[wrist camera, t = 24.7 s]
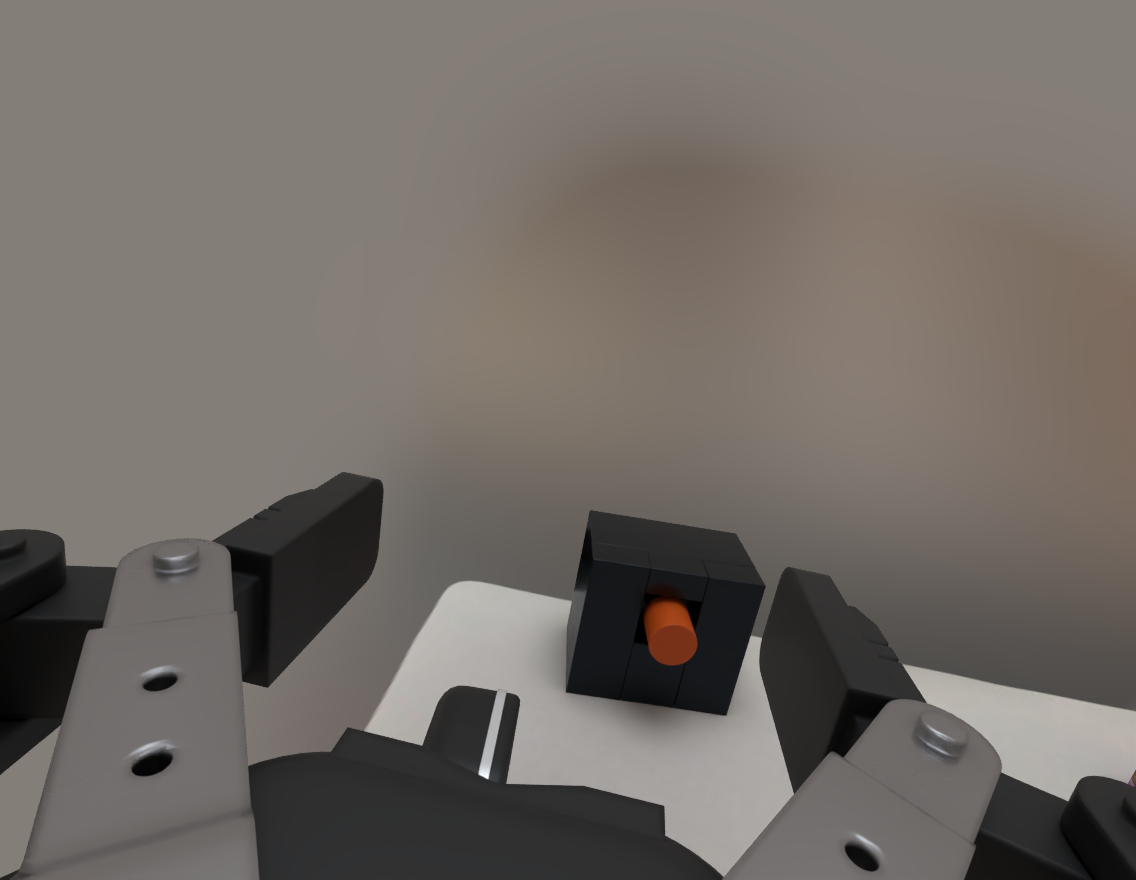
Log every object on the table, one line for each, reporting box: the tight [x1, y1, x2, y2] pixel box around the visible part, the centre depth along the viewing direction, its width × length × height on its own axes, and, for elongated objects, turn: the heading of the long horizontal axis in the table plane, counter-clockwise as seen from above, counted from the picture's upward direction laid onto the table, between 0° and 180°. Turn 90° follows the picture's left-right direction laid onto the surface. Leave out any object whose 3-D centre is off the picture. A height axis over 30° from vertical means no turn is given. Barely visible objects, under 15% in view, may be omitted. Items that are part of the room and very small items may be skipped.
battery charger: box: [422, 686, 520, 784], centre depth 26 cm, size 7×4×11 cm, turn 177°
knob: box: [643, 596, 697, 665], centre depth 41 cm, size 4×3×3 cm
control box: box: [566, 511, 766, 715], centre depth 46 cm, size 8×12×11 cm, turn 89°
